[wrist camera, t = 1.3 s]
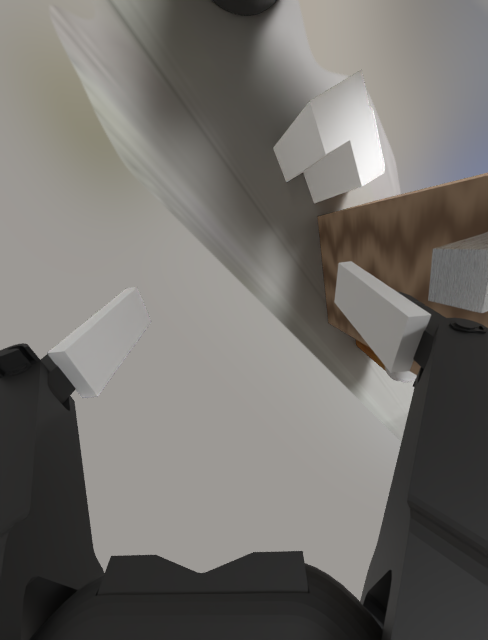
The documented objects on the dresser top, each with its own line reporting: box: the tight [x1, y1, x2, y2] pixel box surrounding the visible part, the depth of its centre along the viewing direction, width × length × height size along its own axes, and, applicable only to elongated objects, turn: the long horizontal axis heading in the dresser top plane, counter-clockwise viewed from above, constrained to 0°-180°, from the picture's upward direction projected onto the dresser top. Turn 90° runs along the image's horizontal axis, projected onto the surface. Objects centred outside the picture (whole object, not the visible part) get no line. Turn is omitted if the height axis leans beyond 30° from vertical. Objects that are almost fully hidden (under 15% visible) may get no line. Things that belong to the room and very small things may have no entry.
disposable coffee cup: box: [356, 340, 417, 382], centre depth 45 cm, size 10×10×12 cm
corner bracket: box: [273, 70, 385, 203], centre depth 31 cm, size 11×11×12 cm
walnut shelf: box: [317, 173, 488, 375], centre depth 31 cm, size 22×12×28 cm, turn 15°
